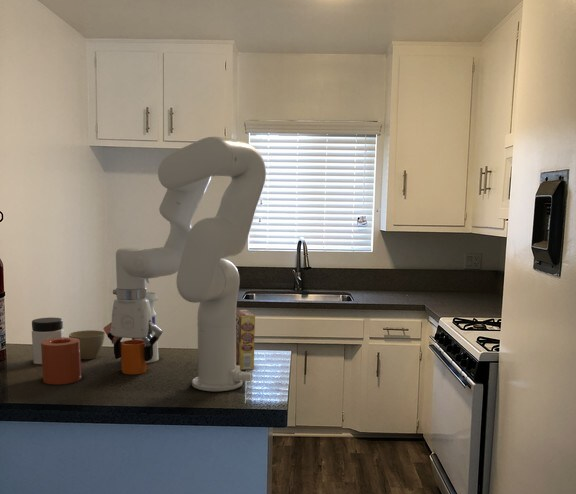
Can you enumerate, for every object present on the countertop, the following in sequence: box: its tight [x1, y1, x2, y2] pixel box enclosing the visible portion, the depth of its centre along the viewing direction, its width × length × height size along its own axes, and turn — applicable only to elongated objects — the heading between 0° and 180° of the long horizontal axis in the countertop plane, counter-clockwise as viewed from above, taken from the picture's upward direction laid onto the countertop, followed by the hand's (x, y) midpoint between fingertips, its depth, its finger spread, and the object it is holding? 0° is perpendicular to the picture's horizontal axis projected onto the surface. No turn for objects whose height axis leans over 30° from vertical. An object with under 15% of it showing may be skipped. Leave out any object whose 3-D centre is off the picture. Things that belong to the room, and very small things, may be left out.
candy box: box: [236, 309, 256, 371], centre depth 174 cm, size 9×4×15 cm, turn 16°
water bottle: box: [131, 279, 160, 364], centre depth 179 cm, size 8×9×25 cm
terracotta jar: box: [41, 336, 82, 385], centre depth 160 cm, size 9×9×10 cm
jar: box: [31, 317, 65, 366], centre depth 177 cm, size 9×8×12 cm
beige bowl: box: [68, 330, 106, 360], centre depth 183 cm, size 10×10×7 cm
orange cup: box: [120, 339, 148, 375], centre depth 168 cm, size 6×6×8 cm
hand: (133, 358), depth 169 cm, fingers open, 8 cm apart
